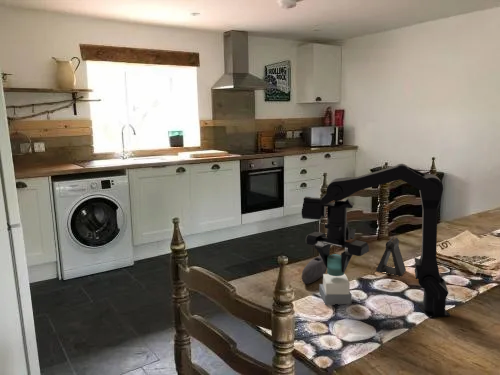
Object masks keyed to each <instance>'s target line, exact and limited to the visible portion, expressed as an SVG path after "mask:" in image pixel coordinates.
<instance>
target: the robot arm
mask: <svg viewBox="0 0 500 375" xmlns="http://www.w3.org/2000/svg"><path fill="white" fill-rule="evenodd" d="M399 180H401V181H403V182H404V183H406V184H408V185H409V186H411V187H413V188H415V189H417V190H419V195H420V200H421V201H420V202H421V207H422V215H421V216H422V218H421V219H422V225H421V231H422V232H421V255H420V257H419V258H417V257H414V262H415V269H414V275H415V280H417V282H418V285H419V286H420V287H421V288H423V297H422V304H418V305H417V307H418V309H420V311H422V312H423V313H424V315H425V316H427V317H428V318H437V317H438V318H440V317H450V316H451V313H449V311H447V310H446V305H447V298H448V295H449V290H448V286H447V284H446V281H445V279H444V278H443V277H442V276H441V275H440V270H439V265H438V260H437V259H438V258H437V243H438V242H437V241H438V240H437V239H438V210H439V206H440V203H441V200H442V196H443V191H444V185H443V182H442V180H440V178H439V177H438V176H437V175H435V174H432V173H429V174H427V173H426V174H425V173H423V172H421V171H419V170H416V169H414V168H412V167H410V166H408V165H407V164H404V163H399V164H397V165H395V166H391V167H387V168H383V169H380V170H376V171H373V172H370V173H367V174H362V175H359V176H349V177H348V176H347V177H337V178H334V179H332V180H331V181H330V183H329V184H328V185H327V187H326V193H325V194H323V195H322V196H321V197H311V196H304V197H303V203H302V208H301V218H302V219H305V220H316V221H317V220H318V221H322V219H323V218H326V224H324V229H326V233H324V232H319V231H314V232H311V233H309V234H307V235H306V237H305V244H306V245H310V246H313V248H314V249H316V251H317V252H318V253H319V256H321V257H322V259H323V262H324V264H325V266H326V268H327V257H328V256H329V255H331V254H330V253H331V252H330V249H331V246H335V247H339V248H343V249H344V251H343V252H341V254H340V255H341V263H342V272H344V273H345V271H347V268H348V265H349V263H350V260H351V259H352V258H353V256H356V257H362V256H363V255H365V254H367V253H368V252H369V250H370V246H369V243H368V242H366V241H361V240H357V239H355V236H356V235H355V234H356V228H355V229H354V228H350V224H349V223H348V222H347V218H348V217H347V214H348V211H347V210H348V209H352V208H354V203H353V202H352V201H351V200H350V198H348V197H351V196H352V195H353V194H355V193H357V192H359V191H362V190H366V189H369V188H374V187H378V186H381V185H384V184H388V183H392V182H396V181H399ZM344 199H345V200H344ZM333 201H334V202H333ZM351 239H352V240H354V239H355V240H354V241H352V242H348V241H350V240H351Z"/></svg>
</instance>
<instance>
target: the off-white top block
mask: <svg viewBox="0 0 500 375" xmlns="http://www.w3.org/2000/svg"><path fill="white" fill-rule="evenodd" d="M322 284H323V286H324V289H325V293H326V294H349V291H350V287H351V286H350V285H351V284H350V281H349V279H348V277H347V275H346V274H345V273H344V275H342V276H332V275H329V274H328V273H325V274H323V276H322Z"/></svg>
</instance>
